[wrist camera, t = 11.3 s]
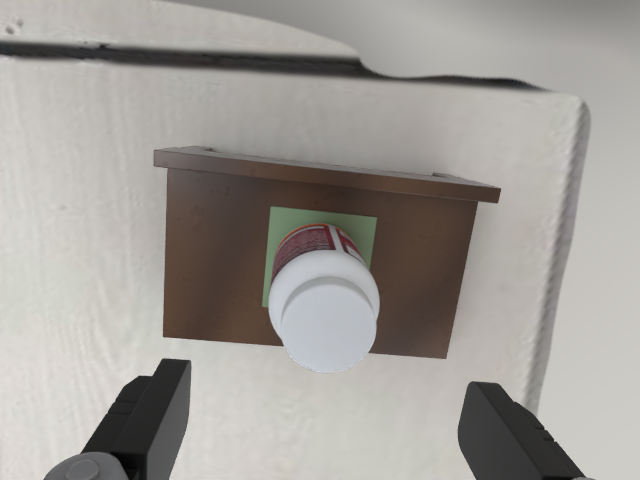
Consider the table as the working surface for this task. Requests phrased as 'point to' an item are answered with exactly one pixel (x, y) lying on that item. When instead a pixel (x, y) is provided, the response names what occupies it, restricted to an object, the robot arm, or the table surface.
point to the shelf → (303, 208)
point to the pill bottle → (323, 298)
